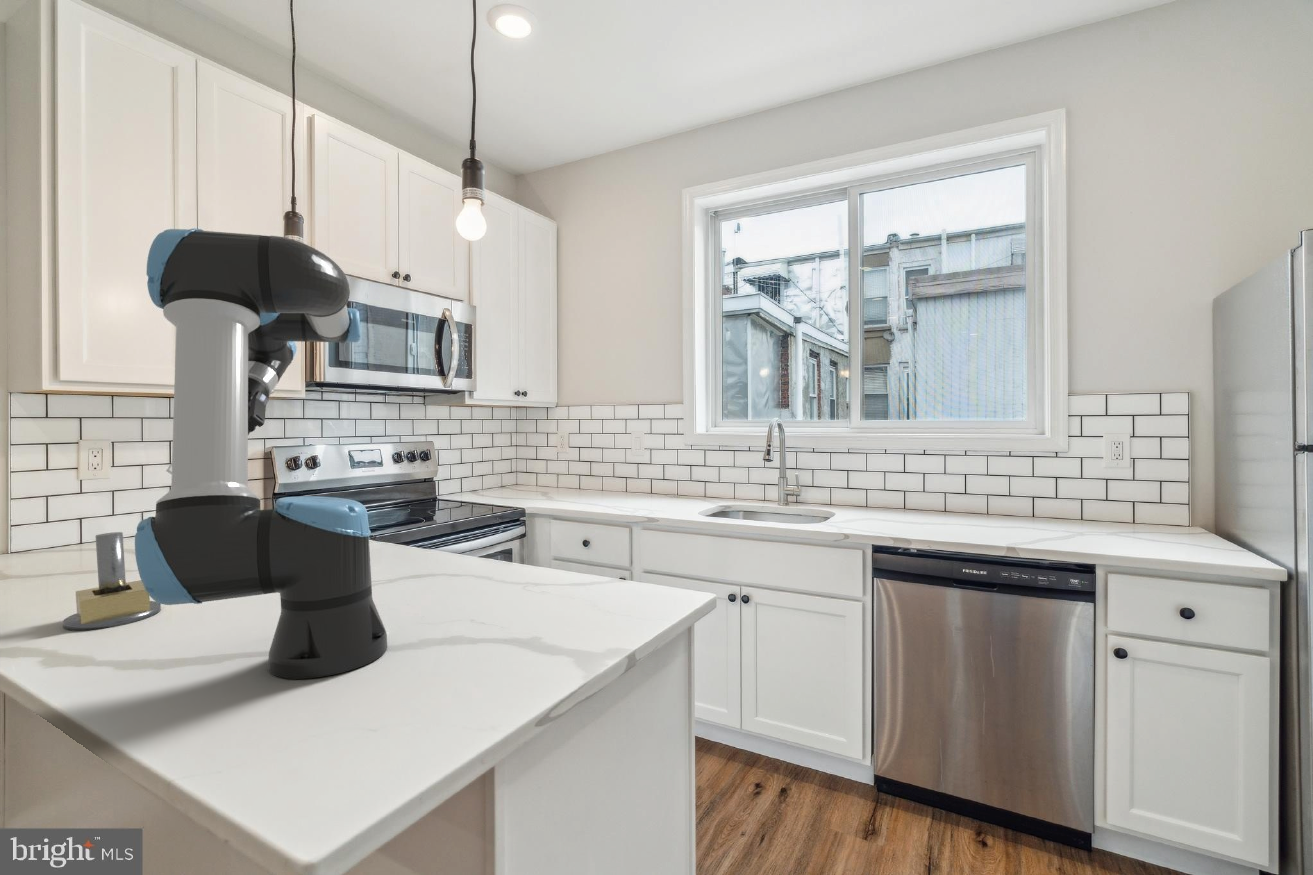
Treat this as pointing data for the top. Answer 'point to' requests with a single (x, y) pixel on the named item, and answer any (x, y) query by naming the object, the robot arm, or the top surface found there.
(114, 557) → the pin
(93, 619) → the socket
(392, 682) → the top surface
